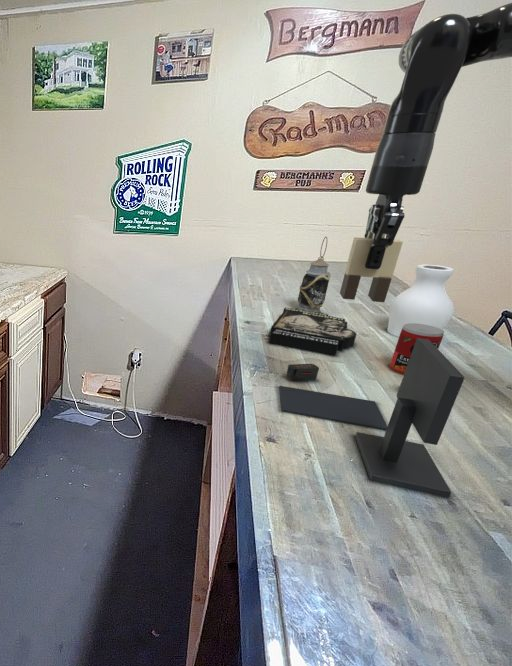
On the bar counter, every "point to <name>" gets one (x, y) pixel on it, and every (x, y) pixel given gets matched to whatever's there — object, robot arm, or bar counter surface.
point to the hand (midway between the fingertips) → (370, 266)
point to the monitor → (415, 424)
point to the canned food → (412, 343)
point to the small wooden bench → (369, 270)
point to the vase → (423, 300)
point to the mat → (331, 407)
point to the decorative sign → (311, 332)
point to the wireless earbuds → (302, 372)
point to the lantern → (314, 285)
